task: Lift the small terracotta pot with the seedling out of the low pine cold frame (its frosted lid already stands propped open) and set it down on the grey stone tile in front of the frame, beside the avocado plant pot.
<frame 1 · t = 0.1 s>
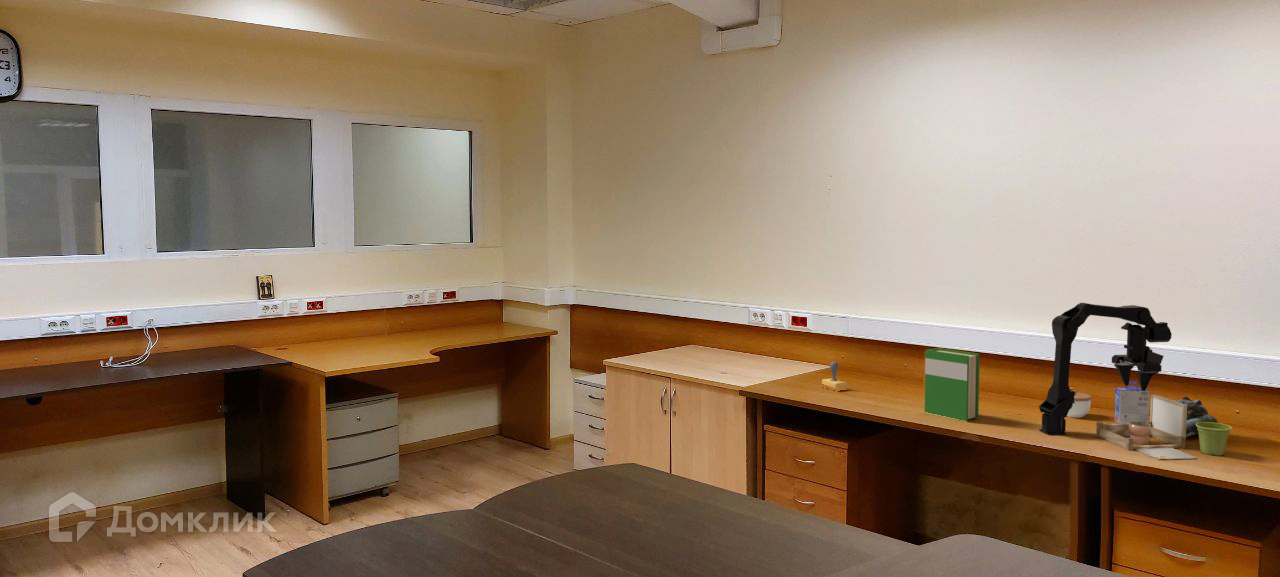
hand: (1134, 388, 295), 15 cm above the table, tool pointing down, fingers open, 9 cm apart
seedling pot: (1139, 442, 282), resting in cold frame
lid pane: (1167, 415, 282), point 8 cm above the table
cold frame: (1139, 442, 282), on the table
ink cartridge box: (1131, 423, 307), on the table
rubber stamp: (834, 389, 372), on the table
stone tile: (1165, 454, 267), on the table
lidded jar: (1074, 416, 318), on the table
hardback book: (951, 416, 321), on the table
plant pot: (1212, 453, 268), on the table
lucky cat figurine: (1187, 435, 289), on the table
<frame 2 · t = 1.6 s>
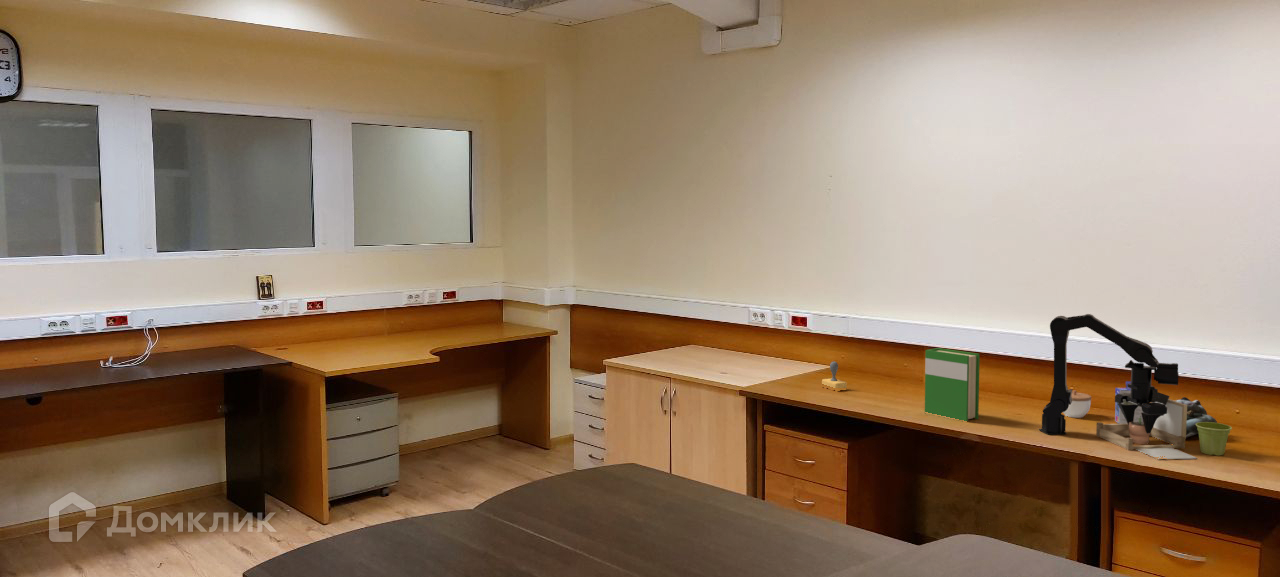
hand: (1139, 429, 282), 4 cm above the table, tool pointing down, fingers open, 9 cm apart
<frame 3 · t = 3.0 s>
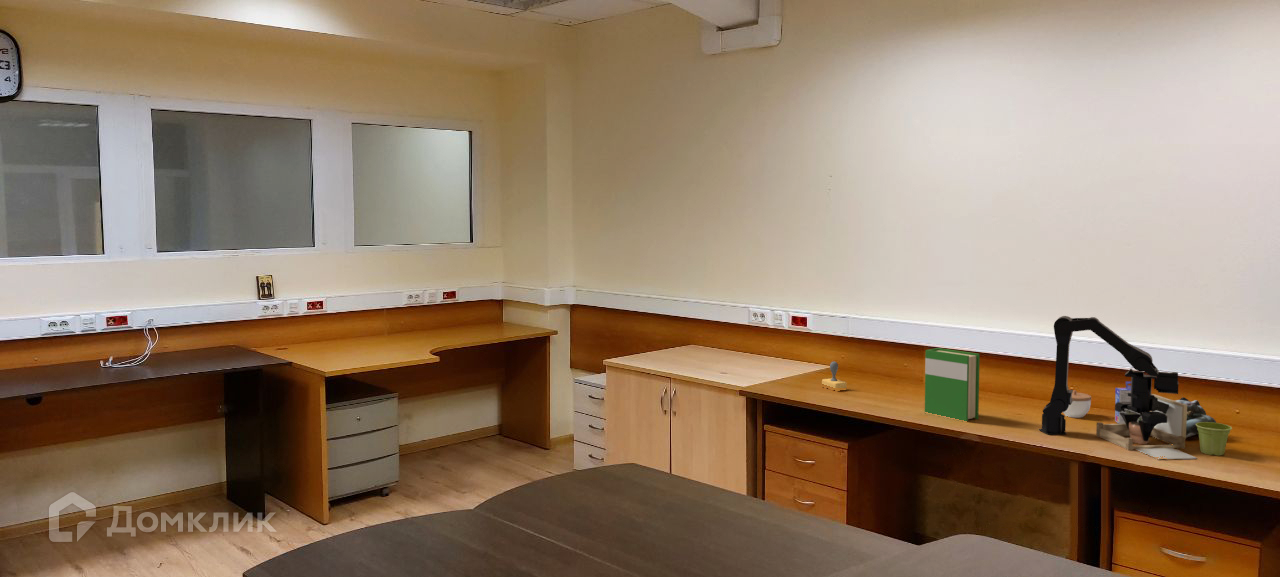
hand: (1139, 438, 282), 1 cm above the table, tool pointing down, fingers closed on seedling pot, 6 cm apart
seedling pot: (1139, 442, 282), resting in cold frame, touching gripper
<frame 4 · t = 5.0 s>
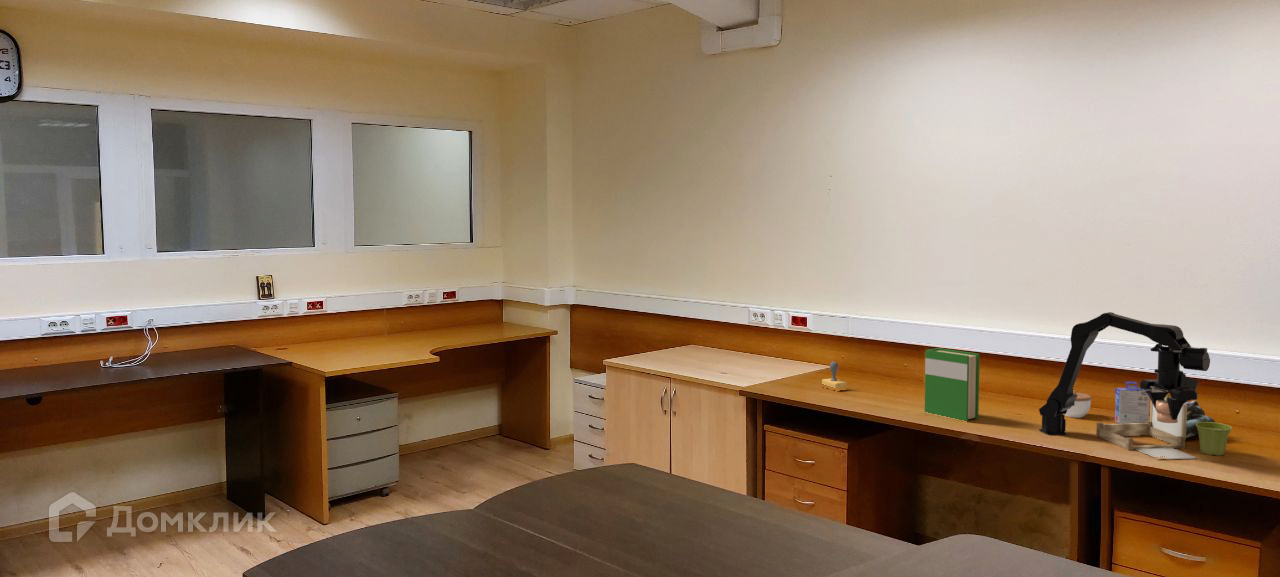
hand: (1167, 417, 267), 12 cm above the table, tool pointing down, fingers closed on seedling pot, 6 cm apart
seedling pot: (1167, 421, 267), point 10 cm above the table, touching gripper
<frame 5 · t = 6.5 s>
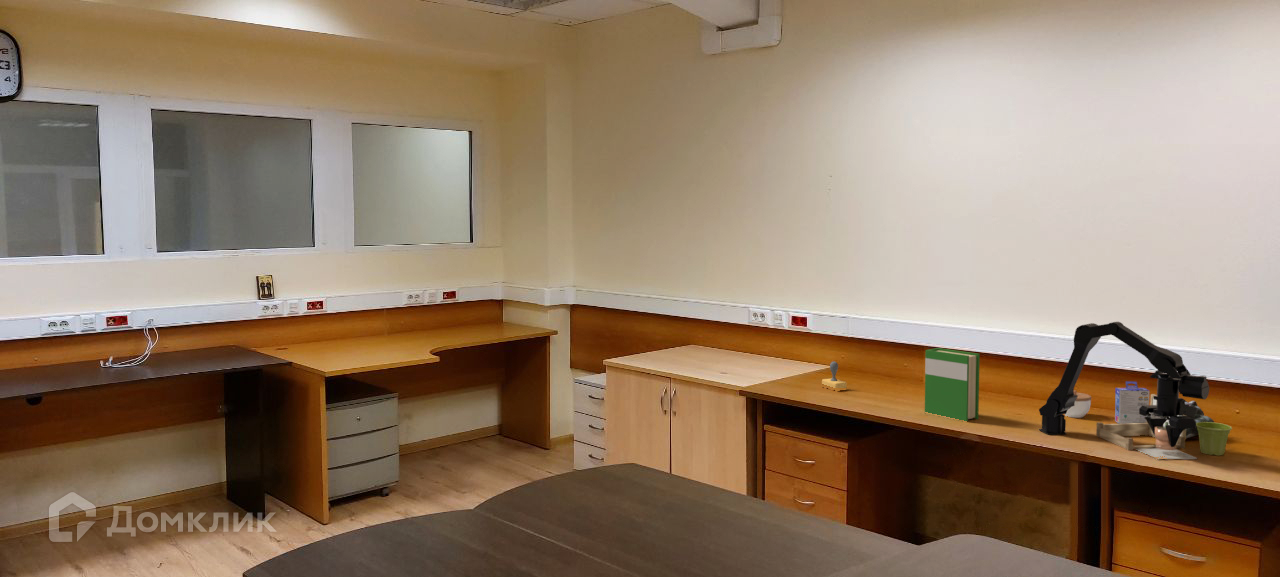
hand: (1165, 443, 267), 3 cm above the table, tool pointing down, fingers closed on seedling pot, 6 cm apart
seedling pot: (1165, 447, 267), point 2 cm above the table, touching gripper
when the fingers open (3 cm above the table, at t = 7.5 s): seedling pot drops 1 cm, resting on stone tile.
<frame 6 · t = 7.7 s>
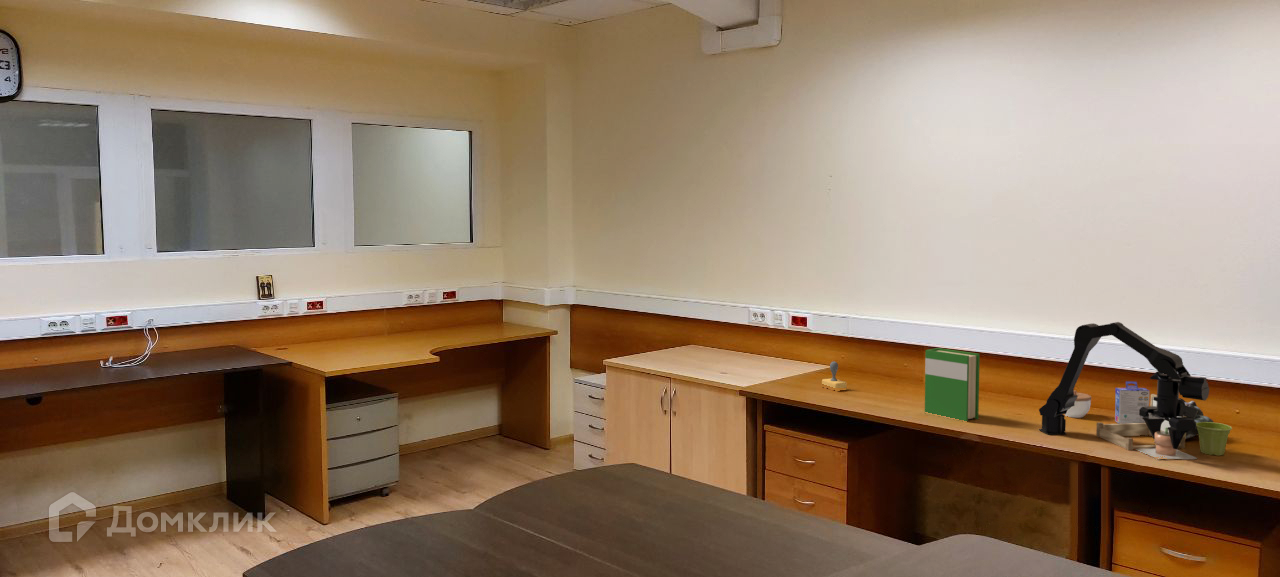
hand: (1165, 445, 267), 3 cm above the table, tool pointing down, fingers open, 8 cm apart
seedling pot: (1165, 453, 267), resting on stone tile
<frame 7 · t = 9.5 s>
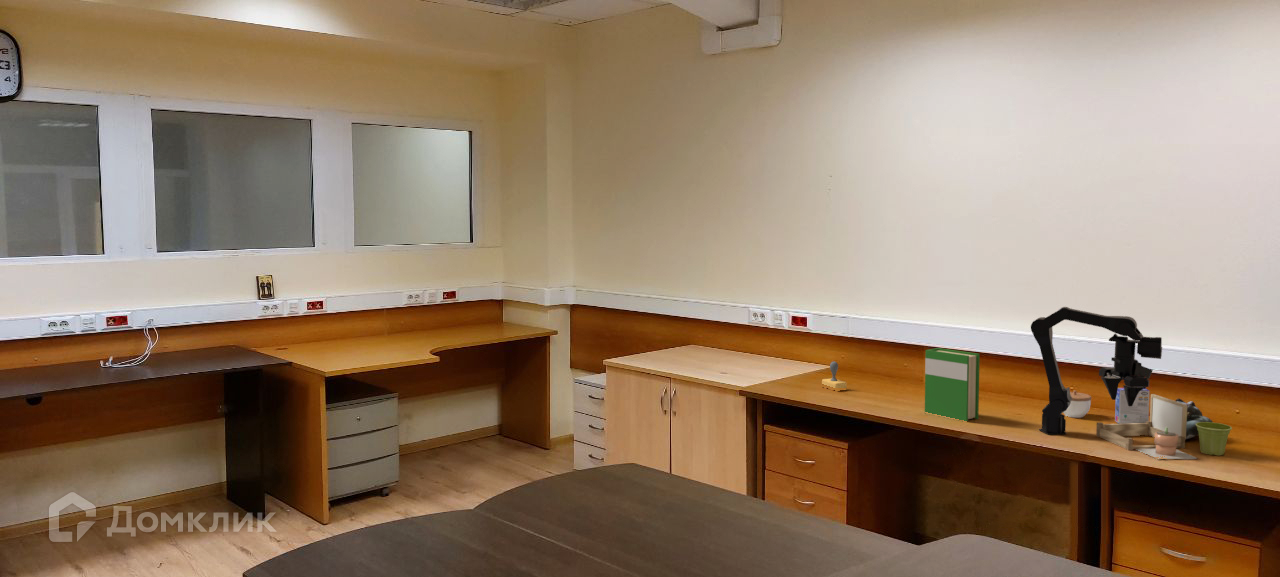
hand: (1121, 402, 283), 13 cm above the table, tool pointing down, fingers open, 9 cm apart
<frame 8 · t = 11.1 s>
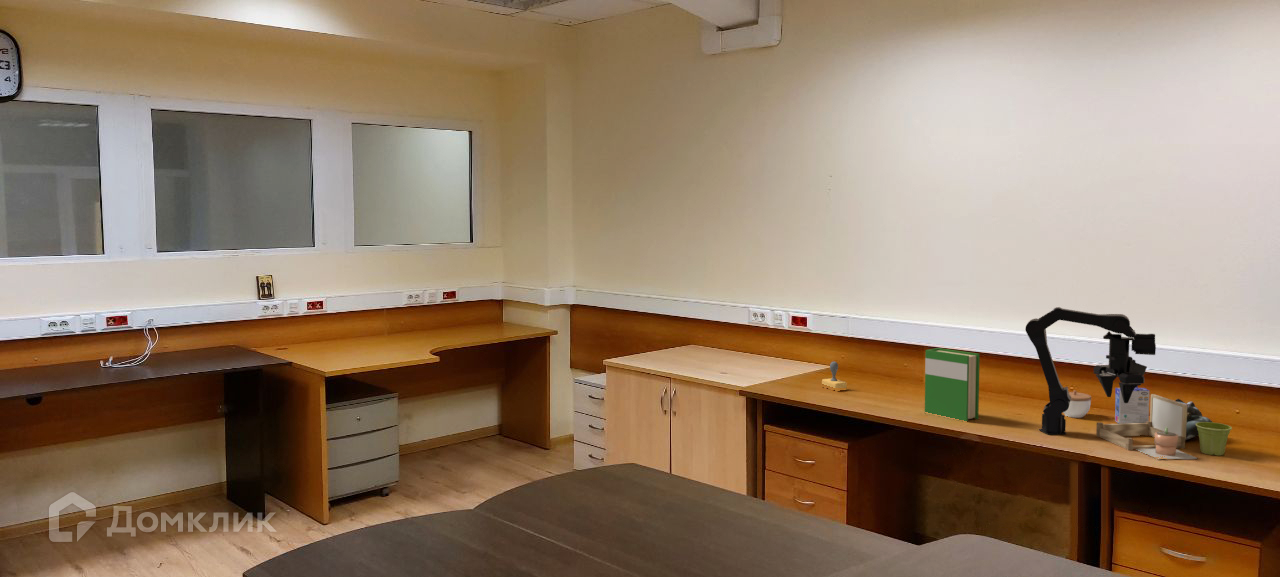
hand: (1117, 400, 285), 13 cm above the table, tool pointing down, fingers open, 9 cm apart
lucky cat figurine: (1183, 438, 286), on the table, touching lid pane
everything else where it was.
at the end: seedling pot inside the target area (0.1 cm from its centre), resting on stone tile; seedling pot tilted 0°; the gripper is holding nothing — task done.
